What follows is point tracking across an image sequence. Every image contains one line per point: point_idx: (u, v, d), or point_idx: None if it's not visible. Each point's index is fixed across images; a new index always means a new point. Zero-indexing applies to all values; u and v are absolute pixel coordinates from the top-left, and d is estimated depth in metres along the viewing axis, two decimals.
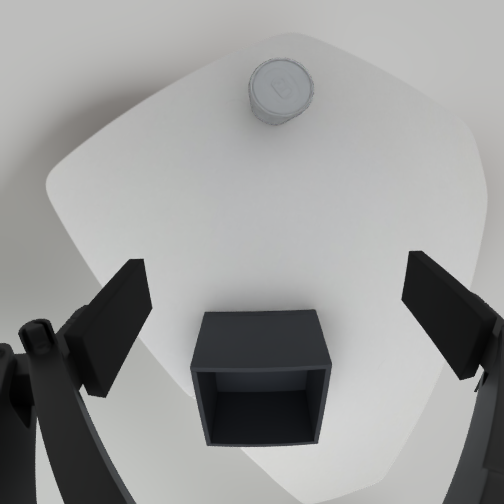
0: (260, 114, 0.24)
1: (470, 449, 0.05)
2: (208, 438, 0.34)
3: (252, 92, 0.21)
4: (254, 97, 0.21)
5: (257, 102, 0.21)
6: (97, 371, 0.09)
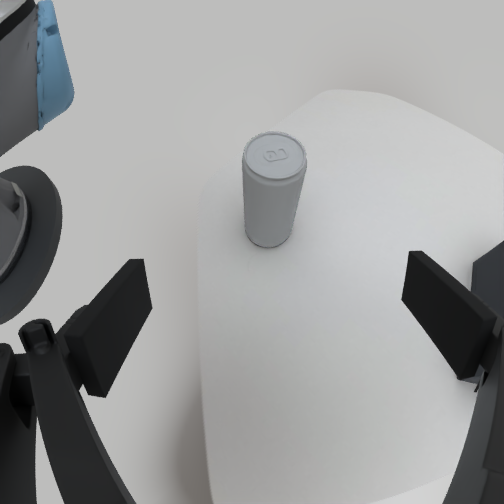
0: (288, 204, 0.25)
1: (470, 449, 0.05)
2: None
3: (271, 177, 0.21)
4: (277, 177, 0.21)
5: (283, 177, 0.22)
6: (97, 371, 0.09)
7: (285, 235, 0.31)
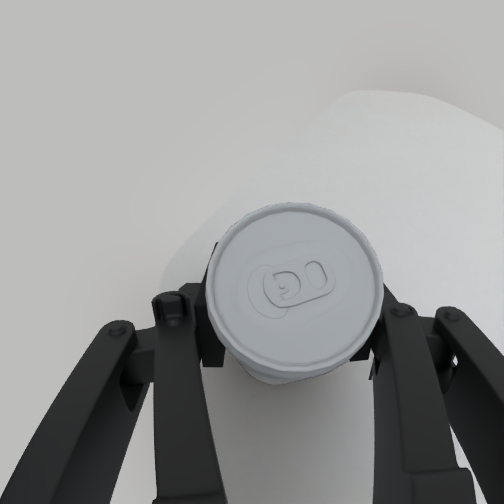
0: None
1: (382, 446, 0.06)
2: None
3: (290, 368, 0.07)
4: (307, 367, 0.07)
5: (325, 363, 0.07)
6: None
7: None
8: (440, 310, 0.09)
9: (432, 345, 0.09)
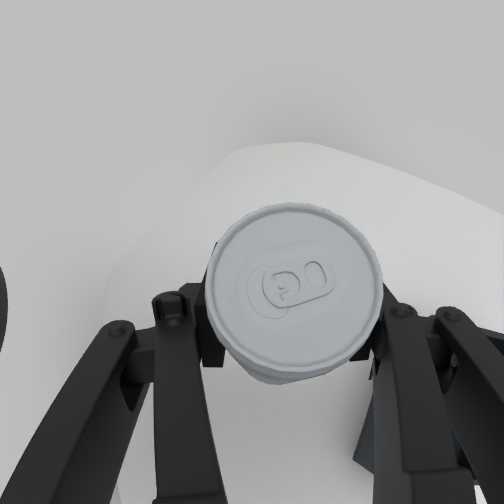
0: None
1: (382, 445, 0.06)
2: None
3: (289, 368, 0.07)
4: (306, 367, 0.07)
5: (324, 363, 0.07)
6: None
7: None
8: (440, 310, 0.09)
9: (432, 345, 0.09)
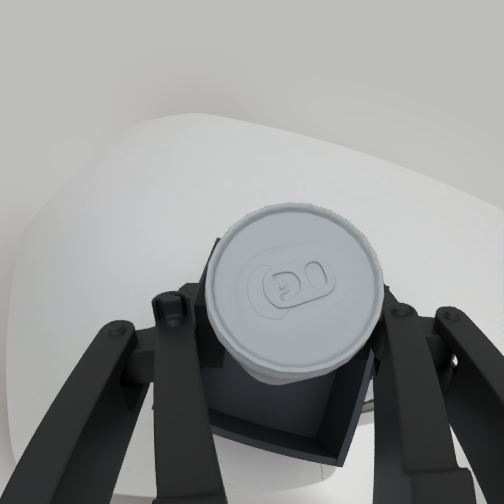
0: None
1: (382, 446, 0.06)
2: (322, 457, 0.18)
3: (289, 368, 0.07)
4: (306, 367, 0.07)
5: (324, 363, 0.07)
6: None
7: None
8: (440, 310, 0.09)
9: (432, 345, 0.09)
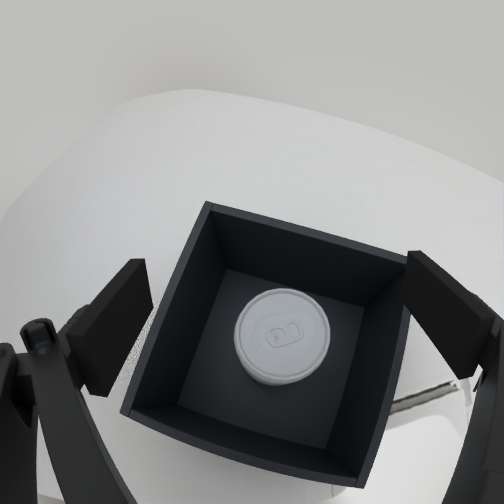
0: None
1: (469, 449, 0.05)
2: (338, 477, 0.13)
3: (279, 378, 0.14)
4: (288, 377, 0.14)
5: (297, 375, 0.14)
6: (99, 370, 0.09)
7: None
8: None
9: None
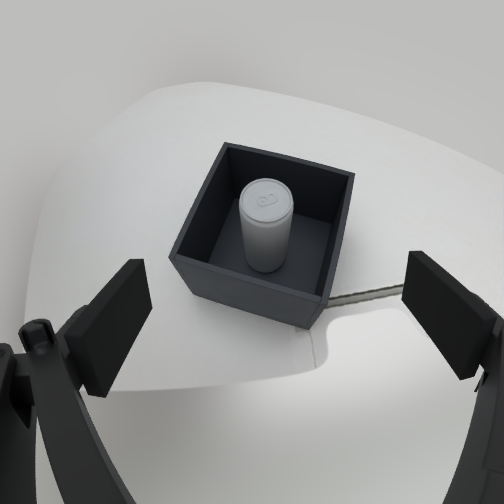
0: (280, 239, 0.30)
1: (470, 449, 0.05)
2: (308, 294, 0.26)
3: (264, 220, 0.26)
4: (268, 220, 0.27)
5: (273, 219, 0.27)
6: (97, 371, 0.09)
7: (280, 261, 0.36)
8: None
9: None
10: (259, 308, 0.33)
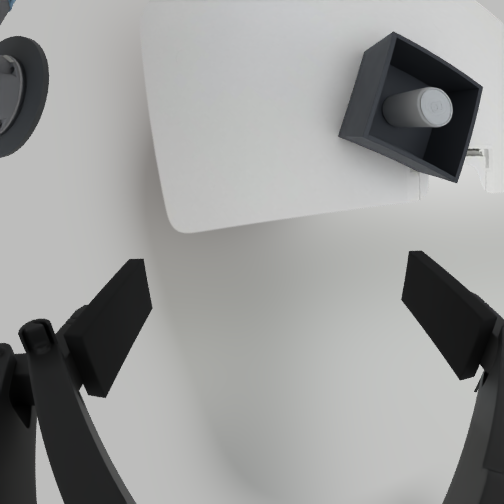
0: None
1: (470, 449, 0.05)
2: (449, 174, 0.33)
3: (435, 124, 0.29)
4: (438, 125, 0.29)
5: (441, 124, 0.29)
6: (97, 371, 0.09)
7: None
8: None
9: None
10: (397, 159, 0.40)
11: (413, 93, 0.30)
